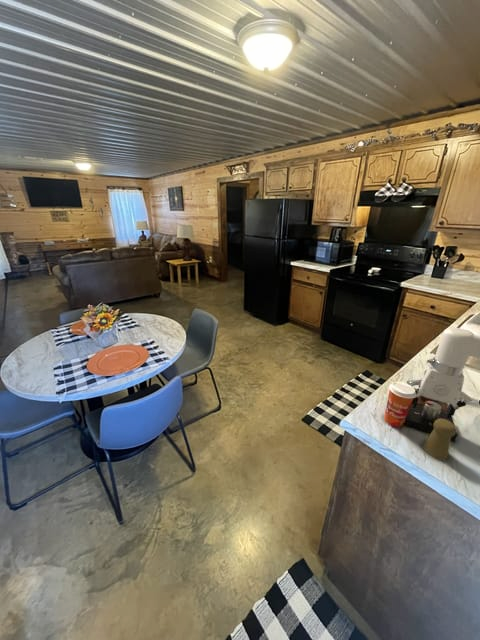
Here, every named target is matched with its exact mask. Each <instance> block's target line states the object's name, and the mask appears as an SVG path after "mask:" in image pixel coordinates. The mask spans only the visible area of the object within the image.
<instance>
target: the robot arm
mask: <svg viewBox="0 0 480 640" xmlns="http://www.w3.org/2000/svg"><path fill="white" fill-rule="evenodd" d="M469 357H471V358H476V359H480V310H479V311H477V312H476V313H475V314H474V315H472V316H471V317H470V318H469V319H467V320H466V321H465V322H464V323H462V325H461V326H460V327H455V326H450V327H447V328H445V329H444V330H443V333H442V335H441V337H440V340H439V344H438V346H437V349H436V352H435V355H434V356H433V358H427V361H426V363H427V364H429V365H428V366H427V367H426V368H425V370H424V373H423V375H422V376H421V379H417V380H416V379H414V380H406V383H407V384H409V385H411V386H412V387H413V386H414V387H415V386H418V388H416V389H415V392H416V395H417V396H416V397H415V398H414V399H413V401H412V406H413V408H416V405H417V402H418V397H419V396H424V397H426V398H430V399H433V400H437V401H441V402H444V403H447V406H448V408H447V411H446V415H447V418H449V419H450V418H451V416H452V417H453V416H455V413H456V410H459V409H460V408H463V407H466V406H467V405H468V404H470V403H472V402H473V398H472V397H471V396H469V395H468V394H467V393H466V392H464V391H463V386H464V382H465V375H464V373H463V374H462V371H463V372H464V369H465V366H466V364H467V362H468V359H469ZM460 397H461V398H462V399H460Z"/></svg>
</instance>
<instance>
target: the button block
mask: <svg viewBox="0 0 480 640" xmlns="http://www.w3.org/2000/svg"><path fill="white" fill-rule="evenodd" d="M413 388H414V389H417V388H416V387H413ZM426 401H433V402H435V403H437V404H439V405H440V406H441V411H440V412H442V413H445V414H446V411H447V408H448V406H449V405H448V403H444V402H441V401H437V400H433V399H430V398H426V397H424V396H419V397H418V402H417V406H421V407H424V405H425V402H426Z"/></svg>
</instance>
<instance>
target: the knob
mask: <svg viewBox="0 0 480 640" xmlns="http://www.w3.org/2000/svg"><path fill="white" fill-rule="evenodd" d="M440 411H441V406H440V405H439V404H437V403H435V402H433V401H426V402H425V405H424V408H423V411H422V414H421V415H422V417H423V418H425V419H426V420H428V421H431V422H435V420H437V419H438V416H439V414H440Z"/></svg>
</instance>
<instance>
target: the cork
mask: <svg viewBox="0 0 480 640" xmlns="http://www.w3.org/2000/svg"><path fill="white" fill-rule="evenodd" d="M433 426H434V430H433V431H432V433H431V434H429V436H428V437H427V439H426V441H425V442H424V444H423V450H424V451H425V453H426V454H428V455H429V456H431V457H432V458H435V459H437V460H441V461H442V460H446V459H448V455H449V450H450V444H451V441H450V440H451V436H453V435H454V434H455V433H456V431H457V427H456V425H455V423H454V424H453V423H452V422H450V421H448V420H446V419H437V420H435V422H434V424H433Z"/></svg>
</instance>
